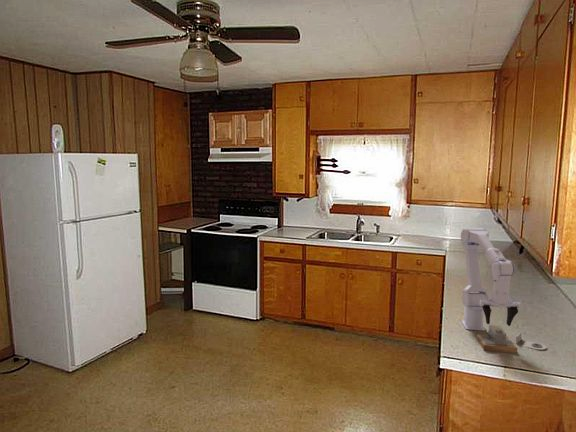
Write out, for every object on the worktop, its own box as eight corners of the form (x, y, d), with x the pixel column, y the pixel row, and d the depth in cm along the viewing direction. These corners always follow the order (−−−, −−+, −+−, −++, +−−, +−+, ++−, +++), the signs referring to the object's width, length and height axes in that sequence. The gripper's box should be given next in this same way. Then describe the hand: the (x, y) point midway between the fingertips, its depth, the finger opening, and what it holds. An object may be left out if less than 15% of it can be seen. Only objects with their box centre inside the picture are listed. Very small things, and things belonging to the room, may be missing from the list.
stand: (476, 339, 169) (477, 333, 169) (507, 341, 167) (508, 336, 167) (483, 350, 160) (484, 344, 159) (517, 353, 158) (517, 347, 157)
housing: (488, 335, 167) (489, 324, 167) (498, 336, 167) (499, 324, 166) (494, 344, 159) (495, 332, 159) (505, 345, 159) (506, 333, 158)
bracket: (544, 353, 159) (545, 344, 158) (515, 344, 165) (516, 336, 165) (548, 347, 163) (548, 339, 163) (519, 339, 170) (520, 331, 170)
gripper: (484, 293, 157) (481, 326, 160) (525, 295, 155) (521, 329, 157) (479, 287, 164) (476, 319, 166) (518, 289, 162) (514, 322, 164)
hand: (498, 324), depth 162 cm, fingers open, 7 cm apart
